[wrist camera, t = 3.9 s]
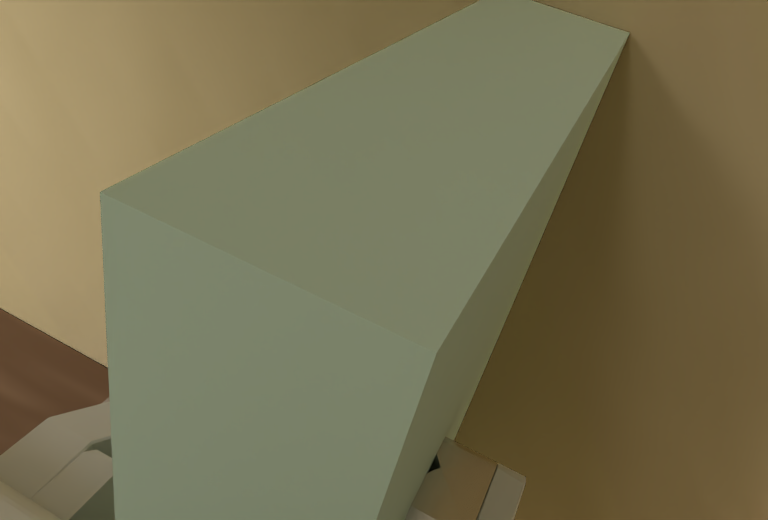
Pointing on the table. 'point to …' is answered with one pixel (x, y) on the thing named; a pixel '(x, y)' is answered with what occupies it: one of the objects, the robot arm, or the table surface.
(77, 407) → the cabinet
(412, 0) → the table surface
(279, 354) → the door
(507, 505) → the robot arm
